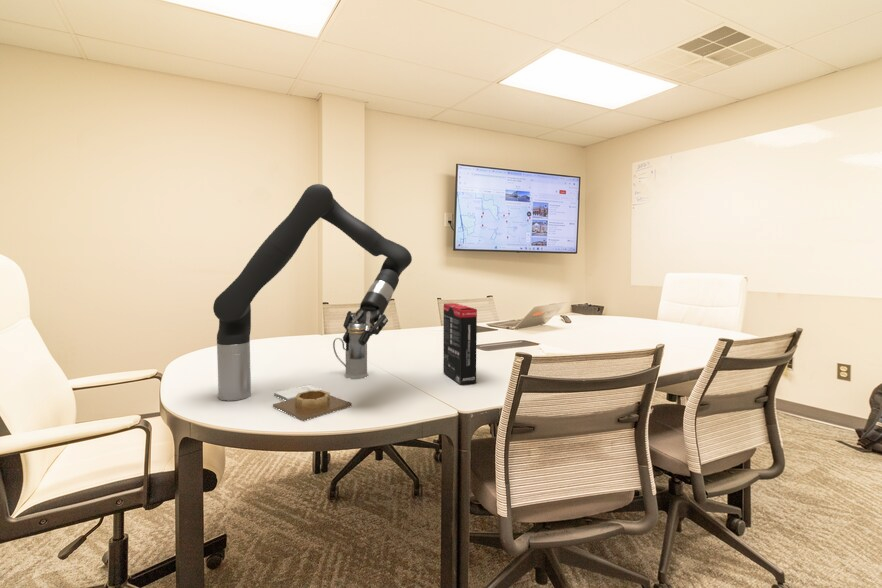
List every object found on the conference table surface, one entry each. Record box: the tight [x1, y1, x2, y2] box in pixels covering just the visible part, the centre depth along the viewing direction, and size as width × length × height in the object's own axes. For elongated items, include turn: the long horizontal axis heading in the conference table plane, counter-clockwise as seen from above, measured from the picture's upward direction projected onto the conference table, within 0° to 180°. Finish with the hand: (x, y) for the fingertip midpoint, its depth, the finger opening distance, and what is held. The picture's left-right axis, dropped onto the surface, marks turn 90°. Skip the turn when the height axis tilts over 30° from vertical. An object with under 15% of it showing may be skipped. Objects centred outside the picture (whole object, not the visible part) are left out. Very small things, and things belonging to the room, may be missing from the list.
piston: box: [348, 322, 366, 359], centre depth 126 cm, size 5×5×10 cm
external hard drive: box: [273, 384, 323, 401], centre depth 138 cm, size 2×8×12 cm
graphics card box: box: [442, 302, 478, 386], centre depth 158 cm, size 17×7×27 cm, turn 22°
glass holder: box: [332, 337, 369, 380], centre depth 161 cm, size 9×14×15 cm, turn 71°
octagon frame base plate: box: [272, 389, 353, 422], centre depth 127 cm, size 16×16×4 cm
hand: (353, 342), depth 124 cm, fingers closed on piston, 5 cm apart
